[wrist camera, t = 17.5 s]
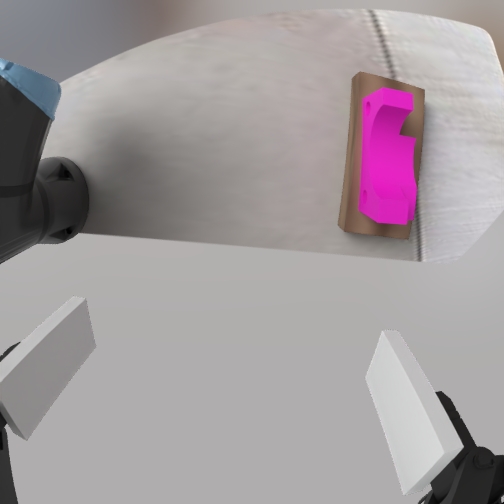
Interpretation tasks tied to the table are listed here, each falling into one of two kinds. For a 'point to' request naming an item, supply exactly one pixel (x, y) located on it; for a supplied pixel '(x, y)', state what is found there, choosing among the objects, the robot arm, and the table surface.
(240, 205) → the table surface
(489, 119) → the table surface
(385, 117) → the toy block
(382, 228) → the base brick
